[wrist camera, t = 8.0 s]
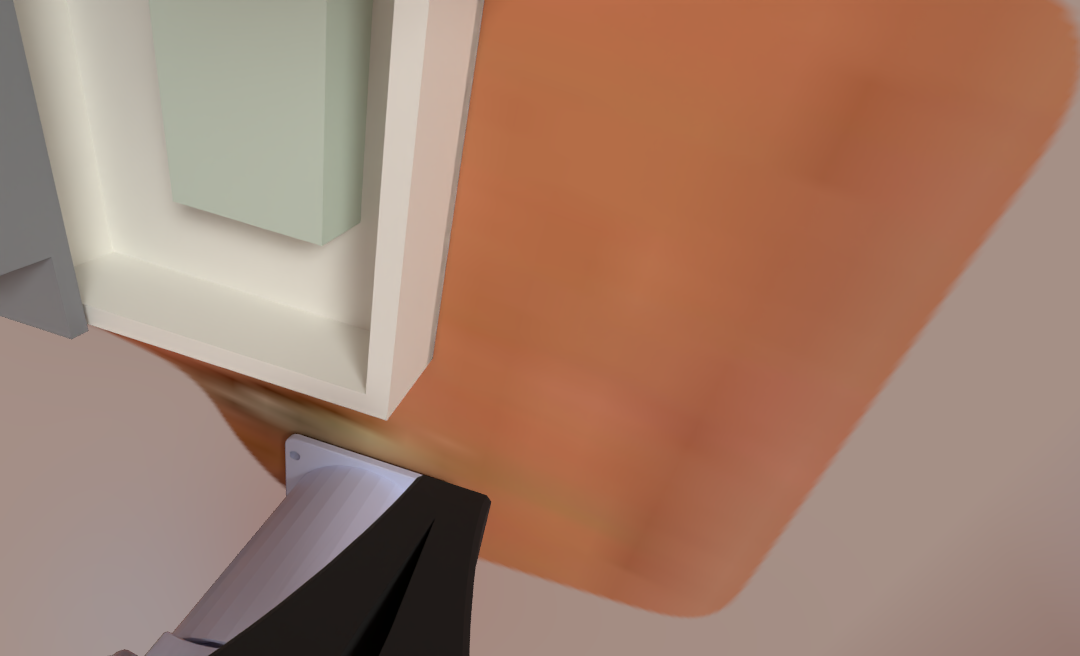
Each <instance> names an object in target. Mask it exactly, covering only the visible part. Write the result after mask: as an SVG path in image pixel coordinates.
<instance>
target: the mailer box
mask: <svg viewBox="0 0 1080 656" xmlns="http://www.w3.org/2000/svg"><path fill="white" fill-rule="evenodd" d="M13 2H14V7H15V11H16V15H17V20H18V24H19V29H20V33H21V37H22V42H23V46H24V51H25V55H26V59H27V64H28V68H29V72H30V77H31V81H32V86H33V90H34V94H35V99H36V103H37V108H38V112H39V116H40V121H41V125H42V129H43V134H44V138H45V143H46V147H47V151H48V156H49V160H50V165H51V169H52V173H53V178H54V182H55V186H56V191H57V195H58V200H59V204H60V208H61V213H62V217H63V222H64V226H65V230H66V235H67V239H68V244H69V248H70V252H71V257H72V261H73V265H74V270H75V274H76V279H77V283H78V287H79V292H80V296H81V301H82V305H83V309H84V314H85V318H86V322H87V324H89V325H92V326H96V327H99V328H102V329H105V330H108V331H111V332H114V333H117V334H120V335H123V336H127V337H130V338H133V339H136V340H139V341H142V342H145V343H148V344H151V345H154V346H158V347H161V348H164V349H167V350H170V351H173V352H176V353H179V354H182V355H185V356H188V357H192V358H195V359H198V360H201V361H204V362H207V363H210V364H213V365H216V366H219V367H223V368H226V369H229V370H232V371H235V372H238V373H241V374H244V375H247V376H250V377H254V378H257V379H260V380H263V381H266V382H269V383H272V384H275V385H278V386H281V387H285V388H288V389H291V390H294V391H297V392H300V393H303V394H306V395H309V396H312V397H316V398H319V399H322V400H325V401H328V402H331V403H334V404H337V405H340V406H343V407H347V408H350V409H353V410H356V411H359V412H362V413H365V414H368V415H371V416H374V417H377V418H381V419H384V420H388V418H389V417H390V416H391V414H392V413H393V411H394V410H395V409H396V407H397V406H398V405H399V403H400V402H401V401H402V399H403V398H404V397H405V395H406V394H407V393H408V391H409V390H410V388H411V387H412V386H413V384H414V383H415V382H416V380H417V379H418V378H419V376H420V375H421V374H422V372H423V371H424V370H425V368H426V367H427V365H428V364H429V363H430V361H431V360H432V359H433V352H434V345H435V338H436V331H437V324H438V317H439V310H440V303H441V296H442V290H443V283H444V276H445V269H446V262H447V255H448V248H449V241H450V234H451V227H452V220H453V214H454V207H455V200H456V193H457V186H458V179H459V172H460V165H461V158H462V151H463V145H464V138H465V131H466V124H467V117H468V110H469V103H470V96H471V89H472V82H473V75H474V69H475V62H476V55H477V48H478V41H479V34H480V27H481V20H482V13H483V6H484V0H13Z"/></svg>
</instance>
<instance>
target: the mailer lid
mask: <svg viewBox="0 0 1080 656" xmlns="http://www.w3.org/2000/svg"><path fill="white" fill-rule="evenodd" d="M0 316H2V317H5V318H8V319H11V320H15V321H17V322H20V323H24V324H27V325H30V326H33V327H36V328H39V329H42V330H45V331H48V332H51V333H54V334H57V335H60V336H63V337H66V338H69V339H73V338H75V337H77V336H79V335H81V334H83V333H85V332H87V331H88V327H87V322H86V318H85V314H84V309H83V305H82V301H81V296H80V292H79V287H78V283H77V279H76V274H75V270H74V265H73V261H72V257H71V252H70V248H69V244H68V239H67V235H66V230H65V226H64V222H63V217H62V213H61V208H60V204H59V200H58V195H57V191H56V186H55V182H54V178H53V173H52V169H51V165H50V160H49V156H48V151H47V147H46V143H45V138H44V134H43V129H42V125H41V121H40V116H39V112H38V108H37V103H36V99H35V94H34V90H33V86H32V81H31V77H30V72H29V68H28V64H27V59H26V55H25V51H24V46H23V42H22V37H21V33H20V29H19V24H18V20H17V15H16V11H15V7H14V2H13V0H0Z"/></svg>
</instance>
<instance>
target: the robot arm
mask: <svg viewBox="0 0 1080 656" xmlns="http://www.w3.org/2000/svg"><path fill="white" fill-rule="evenodd" d="M285 460H286V498H285V499H284V500H283V501H282V503H281V504H280V505H279V506H278V507H277V508H276V510H275V511H274V512H273V513H272V514H271V516H270V517H269V518H268V519H267V521H266V522H265V523H264V524H263V525H262V526H261V528H260V529H259V530H258V531H257V532H256V534H255V535H254V536H253V537H252V538H251V540H250V541H249V542H248V543H247V544H246V546H245V547H244V548H243V549H242V550H241V551H240V553H239V554H238V555H237V556H236V557H235V559H234V560H233V561H232V562H231V563H230V565H229V566H228V567H227V568H226V569H225V571H224V572H223V573H222V574H221V575H220V577H219V578H218V579H217V580H216V581H215V583H214V584H213V585H212V586H211V587H210V589H209V590H208V591H207V592H206V593H205V595H204V596H203V597H202V598H201V600H200V601H199V602H198V603H197V604H196V605H195V607H194V608H193V609H192V610H191V611H190V613H189V614H188V615H187V616H186V617H185V619H184V620H183V621H182V622H181V623H180V625H179V626H178V627H177V628H176V629H175V631H174V632H173V633H170V632H165V633H163V635H162V636H161V637H160V638H159V639H158V640H157V642H156V643H155V644H154V645H153V646H152V647H151V649H150V650H149V651H148V652H147V653H146V655H145V656H469V647H470V646H469V645H470V624H471V610H472V598H473V585H474V576H475V567H476V563H477V559H478V555H479V551H480V547H481V542H482V538H483V534H484V530H485V526H486V522H487V517H488V513H489V509H490V505H491V501H490V499H489V498H488V497H487V495H484V494H481V493H478V492H475V491H472V490H469V489H466V488H462V487H459V486H456V485H453V484H450V483H447V482H444V481H441V480H438V479H435V478H432V477H429V476H426V475H421V474H418V473H415V472H412V471H409V470H406V469H403V468H400V467H397V466H394V465H391V464H388V463H385V462H382V461H379V460H376V459H373V458H370V457H367V456H364V455H361V454H358V453H354V452H351V451H348V450H345V449H342V448H339V447H336V446H333V445H330V444H327V443H324V442H321V441H318V440H315V439H312V438H309V437H306V436H303V435H300V434H292V435H291V436H290V437H289V438H288V439H287V440H286V442H285ZM112 656H137V655H135V654H134V653H132V652H130V651H129V650H125V649H124V650H121V651H118V652H116V653H115V654H114V655H112Z"/></svg>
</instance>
